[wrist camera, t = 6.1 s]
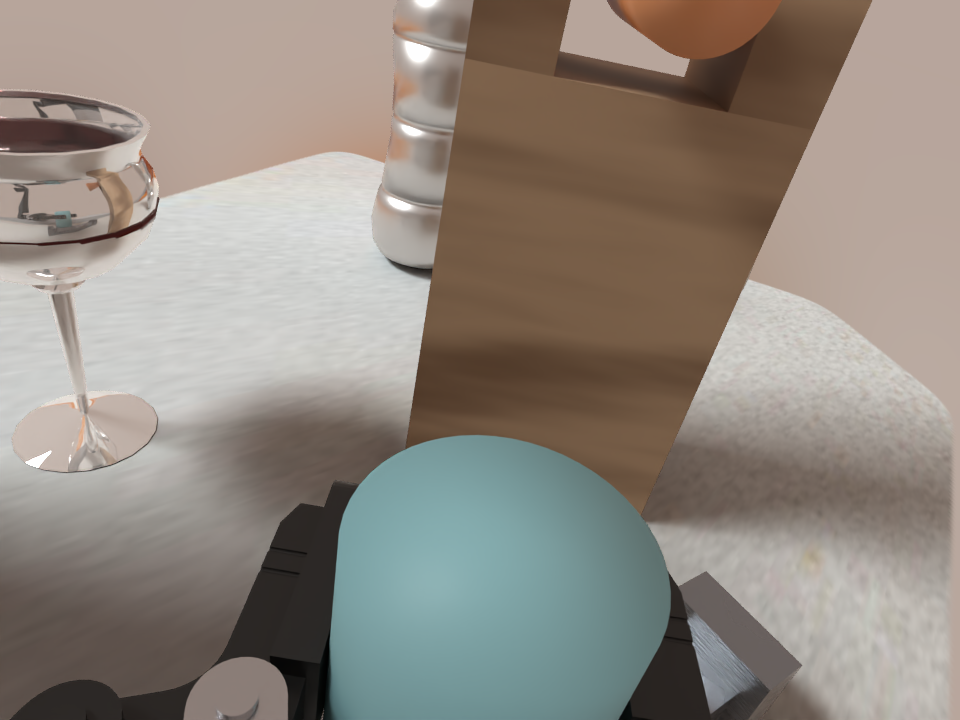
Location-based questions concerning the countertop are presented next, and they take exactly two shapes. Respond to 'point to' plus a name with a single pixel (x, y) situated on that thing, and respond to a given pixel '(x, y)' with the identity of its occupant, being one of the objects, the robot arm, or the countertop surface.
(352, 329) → the countertop surface
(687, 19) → the plunger
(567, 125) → the wooden window block
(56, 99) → the wineglass
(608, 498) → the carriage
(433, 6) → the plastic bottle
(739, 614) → the rail
